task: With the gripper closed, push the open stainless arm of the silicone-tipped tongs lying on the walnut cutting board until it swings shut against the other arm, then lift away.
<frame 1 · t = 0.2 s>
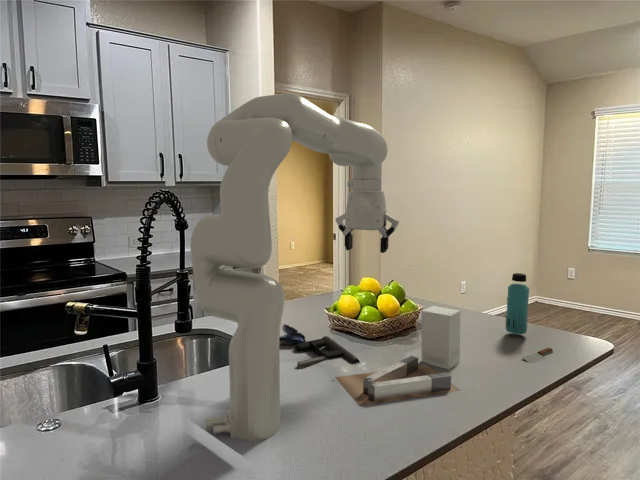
hand: (366, 250, 125), 30 cm above the worktop, tool pointing down, fingers open, 9 cm apart
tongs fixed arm: (411, 393, 106), resting on cutting board
skincare box: (439, 368, 124), on the worktop
black submachine gun: (320, 360, 130), on the worktop
beverage bottle: (515, 336, 149), on the worktop
cutting board: (395, 389, 111), on the worktop
snack package: (287, 344, 142), on the worktop
cleaver: (541, 359, 131), on the worktop
tongs arm: (391, 374, 112), point 3 cm above the worktop, hinge at 28.0°
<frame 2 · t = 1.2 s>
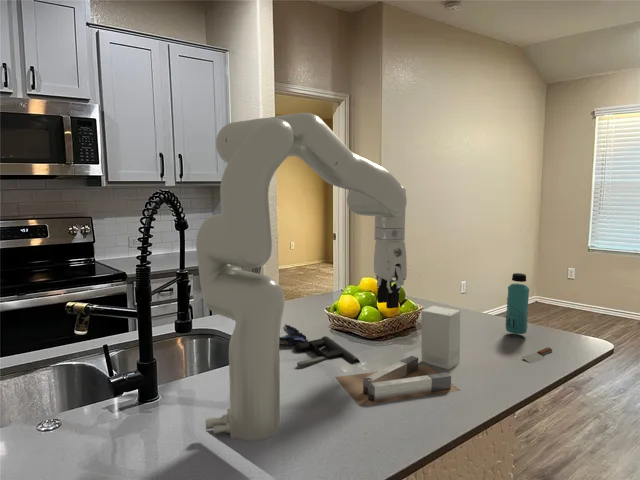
hand: (387, 304, 120), 17 cm above the worktop, tool pointing down, fingers open, 4 cm apart
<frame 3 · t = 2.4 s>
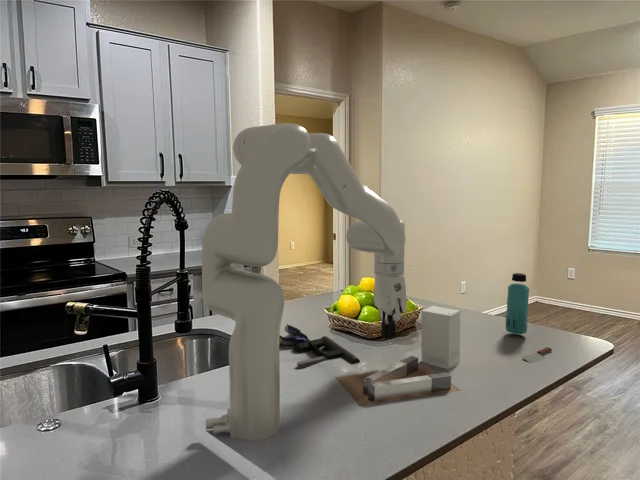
hand: (388, 337, 122), 9 cm above the worktop, tool pointing down, fingers closed
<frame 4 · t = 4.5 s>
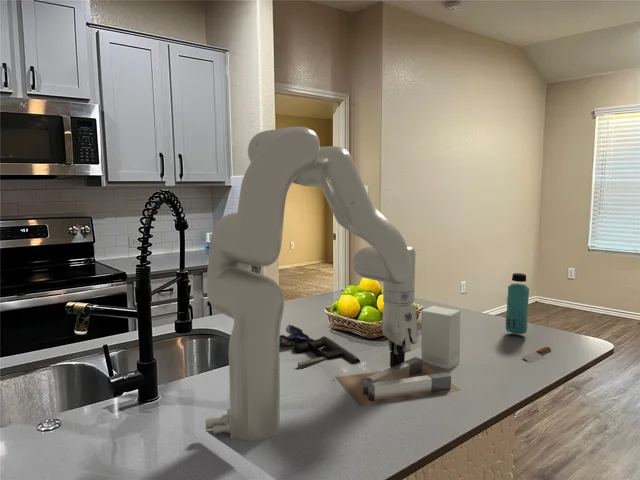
hand: (397, 367, 117), 3 cm above the worktop, tool pointing down, fingers closed
tongs arm: (393, 375, 111), point 3 cm above the worktop, hinge at 24.3°, touching gripper
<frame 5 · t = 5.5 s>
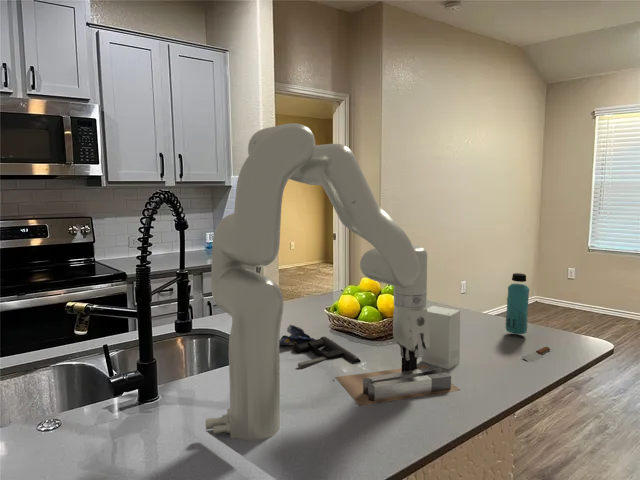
hand: (409, 373, 112), 3 cm above the worktop, tool pointing down, fingers closed
tongs arm: (402, 379, 108), point 3 cm above the worktop, hinge at 3.8°, touching gripper
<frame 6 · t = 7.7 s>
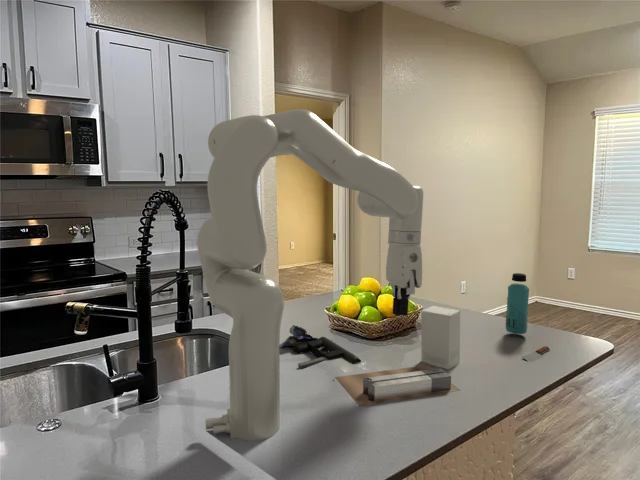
hand: (400, 314, 112), 17 cm above the worktop, tool pointing down, fingers closed
snack package: (299, 345, 141), on the worktop
tongs arm: (403, 381, 108), point 3 cm above the worktop, hinge at -0.6°
everything else where it was.
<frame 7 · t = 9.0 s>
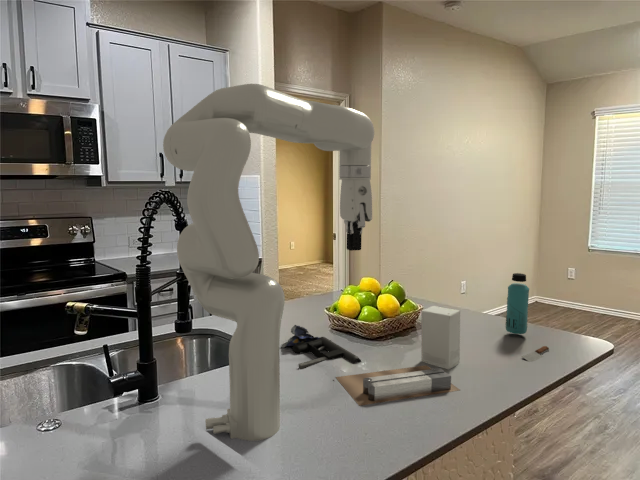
hand: (353, 249, 114), 32 cm above the worktop, tool pointing down, fingers closed
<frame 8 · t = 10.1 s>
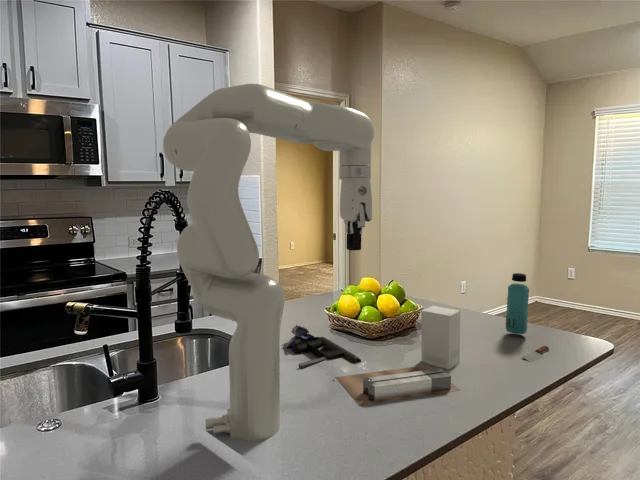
hand: (353, 249, 114), 32 cm above the worktop, tool pointing down, fingers closed
at the end: tongs arm at -1° (first picture: +28°) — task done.
